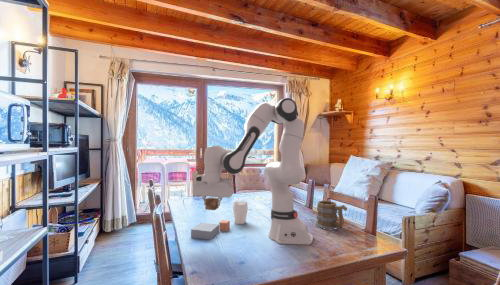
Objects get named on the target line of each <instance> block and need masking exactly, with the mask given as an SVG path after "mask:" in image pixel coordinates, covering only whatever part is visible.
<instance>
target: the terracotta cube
mask: <svg viewBox="0 0 500 285" xmlns="http://www.w3.org/2000/svg"><path fill="white" fill-rule="evenodd" d="M230 222H231V220H227V219H226V220H225V219H222V220H220V221H219V222H218V224H219V232H220V231H222V232H228V231H229V229H230V227H231V226H230V225H231V223H230Z"/></svg>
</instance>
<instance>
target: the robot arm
mask: <svg viewBox="0 0 500 285" xmlns="http://www.w3.org/2000/svg"><path fill="white" fill-rule="evenodd" d="M271 122H272V123H274V124H278V125H283V130H282V134H281V138H280V142H279V145H278V152H280V161H278V160H277V161H276V160H275V161H271V162H267V164H266V165H265V166H264V170H263V172H264V175H265V177H266V179H267V180H268V183H269V186H270V191H271V207H272V208H271V209H270V210H271V211H270V218H271V220H270V222H271V225H270V229H269V234H268V238H270V239H271V240H272V241H275V242H276V243H277V244H279V245H280V244H282V245H284V244H285V245H307V246H308V245H311V244H312V243H313V242H314V236H313V235H312V233H310V232H309V228H308V226H307V224H306V223H305V222H304V221H302V220H301V219H300V218H299V217H298V216H299V215H298V211H297V210H295V209H294V194H293V192H292V191H291V190H290V187H289V185H299V184H300V183H301V182H302V181H303V179H304V176H305V175H304V174H305V173H304V172H305V171H304V170H303V167H302V166H301V164H300V151H301V146H302V141H303V138H304V133H305V132H304V130H305V123H304V121H303V120H302V119H301V118H299V112H298V106H297V103H296V102H295V100H294V99H293V98H289V97H284V98H282V99H280V100H279V101H278V102H277V103H276V104H275V105H271V104H270V103H268V102H262V103H260V104H258V105H257V106H256V107H255V108H254V109H253V111H252V112H251V113H250V114H249V116H248V117H247V119H246V120H245V122H244V125H243V129H244V130H243V131H244V135H243V137H242V139H241V140H240V141H239V143H238V145H237V146H236V148H235V149H234V150H233V151H230V150H228V149H226V148H223V147H222V146H221V145H219V144H218V145H211V146H207V147H206V148H205V149H204V155H203V156H204V157H203V164H204V170H203V173H202V174H200V175H196V176H195V177H193V178H194V179H193V180H194V182H193V183H192V194H193V196H197V197H198V196H200V197H201V198H202V201H203V205H204V206H205V202H206V199H207V197H214V198H218V199H219V201H218V202H216V206H219V207H220V206H221V201H222V200H223V198H228V199H229V198H230V197H232V196H233V181H232V179H231V178H223V177H222V171H223V170H225V171H226V172H227V173H228V174H230V175H232V174H233V175H237V174H239V173H241V172H242V171H243V169H244V168H245V164H246V159H247V157H248V155H249V153H250V152H251V151H252V149H253V147H254V145H255V144H256V143H257V140H258V139H259V138H260V136H261V135H262V134H263V133H264V132H265V130H266V129H267V127H268V125H269V124H270V123H271Z"/></svg>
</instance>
